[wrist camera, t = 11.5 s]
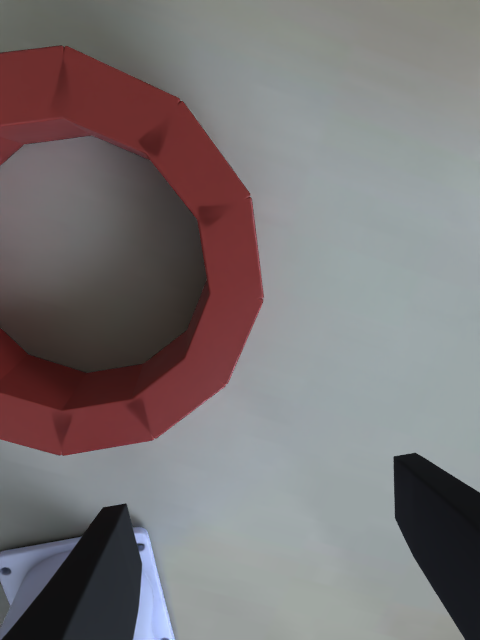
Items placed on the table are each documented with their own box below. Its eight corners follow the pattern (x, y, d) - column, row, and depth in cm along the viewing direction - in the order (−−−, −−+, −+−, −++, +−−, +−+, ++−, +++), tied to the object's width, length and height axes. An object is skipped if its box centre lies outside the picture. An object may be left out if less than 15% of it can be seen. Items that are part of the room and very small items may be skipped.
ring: (265, 381, 20) (278, 419, 17) (-22, 429, 19) (-70, 479, 16) (224, 61, 16) (230, 23, 12) (-143, 107, 15) (-243, 81, 12)
